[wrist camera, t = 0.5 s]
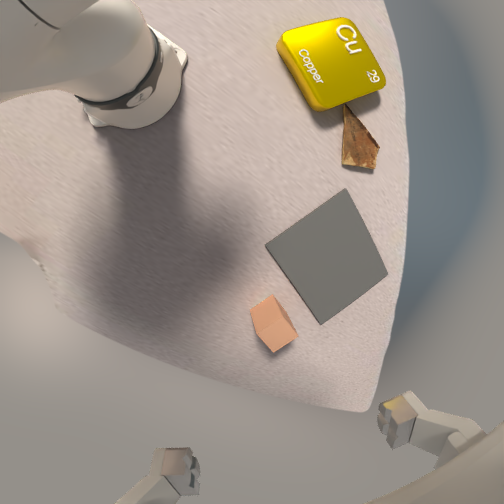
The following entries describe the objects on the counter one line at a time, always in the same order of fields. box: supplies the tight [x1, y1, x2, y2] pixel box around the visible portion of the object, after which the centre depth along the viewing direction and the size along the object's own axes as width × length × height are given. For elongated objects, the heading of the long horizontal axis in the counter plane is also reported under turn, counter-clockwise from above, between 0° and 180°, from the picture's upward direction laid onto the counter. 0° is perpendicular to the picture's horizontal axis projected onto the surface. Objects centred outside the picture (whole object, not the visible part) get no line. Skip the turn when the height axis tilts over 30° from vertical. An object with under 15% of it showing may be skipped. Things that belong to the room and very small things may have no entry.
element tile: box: [276, 17, 386, 112], centre depth 38 cm, size 15×15×5 cm
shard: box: [342, 104, 380, 169], centre depth 44 cm, size 11×8×2 cm
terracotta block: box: [250, 295, 298, 353], centre depth 48 cm, size 5×5×8 cm
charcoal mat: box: [265, 189, 388, 324], centre depth 50 cm, size 20×17×1 cm
